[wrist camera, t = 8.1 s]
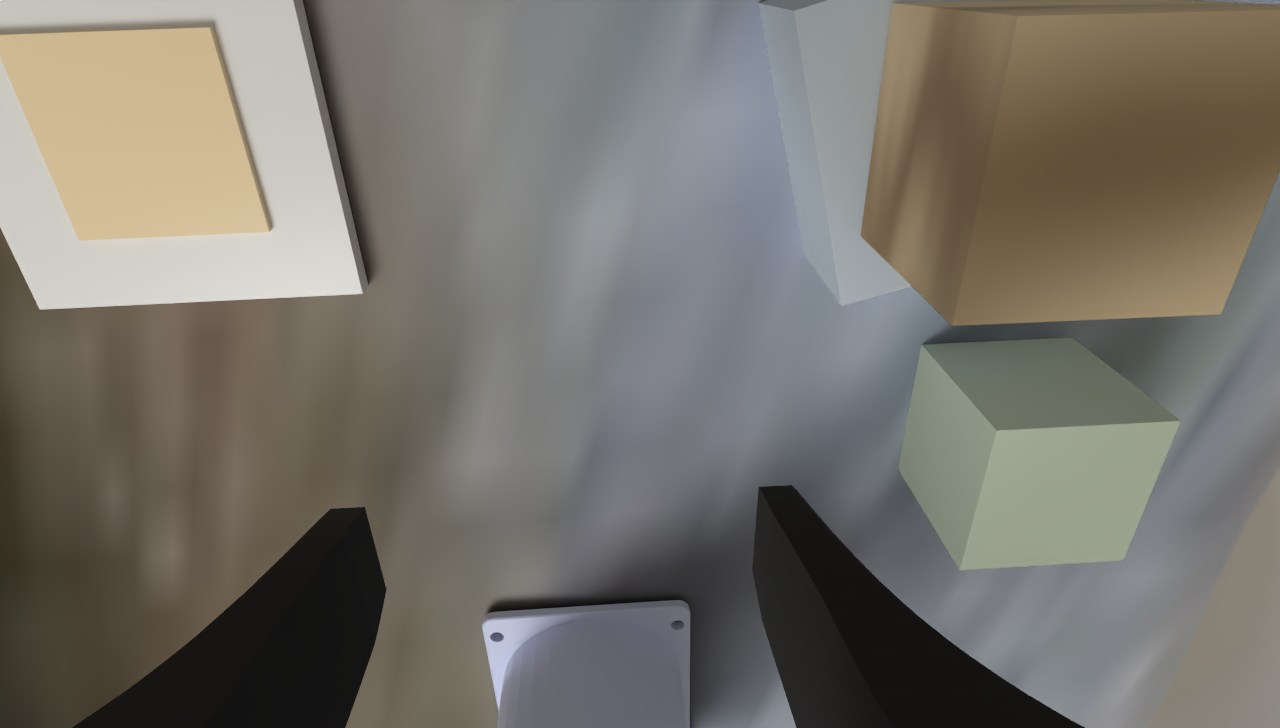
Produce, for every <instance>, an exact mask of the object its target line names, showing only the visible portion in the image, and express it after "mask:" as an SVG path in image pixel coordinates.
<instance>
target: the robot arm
mask: <svg viewBox="0 0 1280 728" xmlns="http://www.w3.org/2000/svg"><path fill="white" fill-rule="evenodd" d="M753 574H754V579H755V585H756V590H757V596H758V601H759V606H760V611H761V616H762V620H763V624H764V627H765V630H766V633H767V637H768V640H769V643H770V646H771V649H772V652H773V656H774V659H775V662H776V665H777V668H778V671H779V674H780V678H781V681H782V684H783V687H784V690H785V693H786V696H787V699H788V702H789V706H790V709H791V712H792V715H793V718H794V721H795V724H796V727H797V728H1084V727H1082V726H1081V725H1079V724H1077V723H1075V722H1073V721H1071V720H1070V719H1068V718H1066V717H1064V716H1063V715H1061V714H1059V713H1058V712H1056V711H1054V710H1053V709H1051V708H1049V707H1047V706H1046V705H1044V704H1042V703H1041V702H1039V701H1037V700H1036V699H1034V698H1032V697H1031V696H1029V695H1027V694H1026V693H1024V692H1023V691H1021V690H1020V689H1018V688H1016V687H1015V686H1013V685H1012V684H1010V683H1009V682H1007V681H1005V680H1004V679H1002V678H1001V677H999V676H998V675H997V674H995V673H994V672H992V671H991V670H989V669H988V668H986V667H985V666H983V665H982V664H981V663H979V662H978V661H976V660H975V659H973V658H972V657H970V656H969V655H968V654H966V653H965V652H963V651H962V650H961V649H959V648H958V647H957V646H955V645H954V644H953V643H951V642H950V641H949V640H947V639H946V638H945V637H943V636H942V635H941V634H940V633H938V632H937V631H936V630H935V629H933V628H932V627H931V626H930V625H929V624H927V623H926V622H925V621H924V620H922V619H921V618H920V617H919V616H917V615H916V614H915V613H914V612H913V611H912V610H911V609H909V608H908V607H907V606H906V605H905V604H904V603H903V602H902V601H900V600H899V599H898V598H897V597H896V596H895V595H894V594H893V593H892V592H891V591H890V590H889V589H888V588H886V587H885V586H884V585H883V584H882V583H881V582H880V581H879V580H878V579H877V578H876V577H875V576H874V575H873V574H872V573H871V572H870V571H869V570H868V569H867V568H866V567H865V566H864V565H863V564H862V563H861V562H860V561H859V560H858V559H857V558H856V557H855V556H854V555H853V553H852V552H851V551H850V550H849V549H848V548H847V547H846V546H845V545H844V544H843V543H842V542H841V541H840V540H839V539H838V538H837V536H836V535H835V534H834V533H833V532H832V531H831V530H830V529H829V527H828V526H827V525H826V524H825V523H824V522H823V521H822V519H821V518H820V517H819V516H818V515H817V514H816V513H815V511H814V510H813V509H812V508H811V507H810V505H809V504H808V503H807V502H806V501H805V499H804V498H803V497H802V496H801V495H800V493H799V492H798V491H797V490H796V489H795V488H794V487H793V486H792V485H788V486H768V487H759V492H758V505H757V518H756V531H755V544H754V557H753ZM385 593H386V586H385V583H384V579H383V575H382V571H381V567H380V563H379V560H378V556H377V552H376V548H375V544H374V541H373V537H372V533H371V529H370V525H369V522H368V518H367V514H366V510H365V507H358V508H339V509H330V510H329V511H328V512H327V513H326V514H325V515H324V516H323V517H322V518H321V519H320V520H319V521H318V522H317V523H316V524H315V525H314V526H313V527H312V528H311V529H310V530H309V531H308V532H307V533H306V534H305V535H304V536H303V537H302V538H301V539H300V540H299V541H298V542H297V543H296V544H295V545H294V546H293V547H292V548H291V549H290V550H289V551H288V552H287V553H286V554H285V555H284V556H283V557H282V558H280V559H279V560H278V561H277V562H276V563H275V564H274V565H273V566H272V567H271V568H270V569H269V570H268V571H267V572H266V573H265V574H264V575H263V576H262V577H261V578H260V579H259V580H258V581H257V582H256V583H255V584H254V585H253V586H252V587H251V588H250V589H248V590H247V591H246V592H245V593H244V594H243V595H242V596H241V597H240V598H239V599H237V600H236V601H235V602H234V603H233V604H232V605H231V606H230V607H228V608H227V609H226V610H225V611H224V612H223V613H222V614H221V615H219V616H218V617H217V618H216V619H215V620H214V621H213V622H212V623H210V624H209V625H208V626H207V627H206V628H205V629H204V630H203V631H201V632H200V633H199V634H198V635H197V636H196V637H195V638H193V639H192V640H191V641H190V642H189V643H187V644H186V645H185V646H184V647H182V648H181V649H180V650H179V651H177V652H176V653H175V654H174V655H173V656H171V657H170V658H169V659H167V660H166V661H165V662H164V663H162V664H161V665H160V666H158V667H157V668H156V669H154V670H153V671H152V672H151V673H149V674H148V675H147V676H145V677H144V678H143V679H141V680H140V681H139V682H137V683H136V684H135V685H133V686H132V687H131V688H129V689H128V690H126V691H125V692H124V693H122V694H121V695H119V696H118V697H116V698H115V699H113V700H112V701H110V702H109V703H108V704H106V705H105V706H103V707H102V708H100V709H99V710H97V711H96V712H94V713H93V714H92V715H90V716H89V717H87V718H86V719H84V720H83V721H81V722H80V723H78V724H77V725H75V726H74V727H73V728H345V727H346V724H347V721H348V718H349V716H350V713H351V710H352V707H353V704H354V702H355V699H356V696H357V693H358V690H359V688H360V685H361V682H362V679H363V676H364V673H365V670H366V668H367V665H368V662H369V659H370V656H371V653H372V650H373V647H374V644H375V640H376V636H377V632H378V627H379V623H380V618H381V613H382V608H383V603H384V598H385ZM677 620H678V622H674V621H677ZM482 629H483V634H484V639H485V644H486V649H487V654H488V660H489V665H490V670H491V675H492V680H493V685H494V690H495V695H496V700H497V705H498V710H499V715H498V723H497V728H689V727H690V609H689V605H688V604H687V603H686V602H684V601H682V600H668V601H653V602H637V603H622V604H607V605H591V606H576V607H560V608H545V609H530V610H514V611H499V612H491V613H489V614H487V615H486V616H485V617H484V619H483V626H482ZM496 632H497V633H496ZM498 633H500V634H498Z"/></svg>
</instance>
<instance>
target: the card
mask: <svg viewBox="0 0 1280 728" xmlns="http://www.w3.org/2000/svg"><path fill="white" fill-rule="evenodd" d="M0 228H1V230H2V232H3V234H4V236H5V238H6V240H7V242H8V244H9V246H10V249H11V251H12V253H13V255H14V257H15V259H16V261H17V263H18V265H19V267H20V269H21V271H22V274H23V276H24V278H25V280H26V282H27V284H28V286H29V288H30V290H31V292H32V294H33V296H34V298H35V301H36V303H37V305H38V307H39V309H40V310H41V309H61V308H82V307H102V306H122V305H143V304H163V303H184V302H204V301H224V300H245V299H265V298H285V297H306V296H326V295H347V294H363V292H364V291H365V290H366V288H367V287H368V282H367V277H366V273H365V269H364V264H363V260H362V256H361V251H360V247H359V243H358V238H357V234H356V230H355V225H354V221H353V217H352V212H351V208H350V204H349V199H348V195H347V191H346V186H345V182H344V178H343V174H342V169H341V165H340V161H339V156H338V152H337V148H336V143H335V139H334V135H333V130H332V126H331V122H330V117H329V113H328V109H327V104H326V100H325V96H324V91H323V87H322V83H321V78H320V74H319V70H318V65H317V61H316V57H315V52H314V48H313V44H312V39H311V35H310V31H309V26H308V22H307V18H306V13H305V9H304V5H303V0H0Z"/></svg>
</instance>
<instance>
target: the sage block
mask: <svg viewBox="0 0 1280 728" xmlns="http://www.w3.org/2000/svg"><path fill="white" fill-rule="evenodd" d="M1180 422H1181V421H1180V420H1179V419H1178V418H1176V417H1175V416H1174V415H1173V414H1171V413H1170V412H1169V411H1167V410H1166V409H1165V408H1163V407H1162V406H1161V405H1160V404H1158V403H1157V402H1156V401H1154V400H1153V399H1152V398H1150V397H1149V396H1148V395H1146V394H1145V393H1144V392H1143V391H1141V390H1140V389H1139V388H1137V387H1136V386H1135V385H1133V384H1132V383H1131V382H1130V381H1128V380H1127V379H1126V378H1124V377H1123V376H1122V375H1120V374H1119V373H1118V372H1117V371H1115V370H1114V369H1113V368H1111V367H1110V366H1109V365H1107V364H1106V363H1105V362H1103V361H1102V360H1101V359H1100V358H1098V357H1097V356H1096V355H1094V354H1093V353H1092V352H1090V351H1089V350H1088V349H1087V348H1085V347H1084V346H1083V345H1081V344H1080V343H1079V342H1077V341H1076V340H1075V339H1074V338H1052V339H1031V340H1010V341H988V342H967V343H946V344H924V345H921V349H920V354H919V360H918V365H917V370H916V376H915V381H914V386H913V391H912V397H911V402H910V407H909V412H908V418H907V423H906V428H905V433H904V439H903V444H902V449H901V455H900V460H899V465H898V470H899V472H900V473H901V475H902V477H903V478H904V480H905V482H906V483H907V485H908V486H909V488H910V490H911V491H912V493H913V495H914V496H915V498H916V500H917V501H918V503H919V504H920V506H921V508H922V509H923V511H924V513H925V514H926V516H927V518H928V519H929V521H930V522H931V524H932V526H933V527H934V529H935V531H936V532H937V534H938V536H939V537H940V539H941V540H942V542H943V544H944V545H945V547H946V549H947V550H948V552H949V554H950V555H951V557H952V558H953V560H954V562H955V563H956V565H957V567H958V568H959V570H975V569H991V568H1008V567H1024V566H1040V565H1057V564H1073V563H1090V562H1106V561H1123V560H1124V558H1125V555H1126V553H1127V551H1128V548H1129V546H1130V543H1131V541H1132V538H1133V536H1134V534H1135V531H1136V529H1137V526H1138V524H1139V521H1140V519H1141V517H1142V514H1143V512H1144V509H1145V507H1146V504H1147V502H1148V500H1149V497H1150V495H1151V492H1152V490H1153V487H1154V485H1155V483H1156V480H1157V478H1158V475H1159V473H1160V470H1161V468H1162V466H1163V463H1164V461H1165V458H1166V456H1167V453H1168V451H1169V449H1170V446H1171V444H1172V441H1173V439H1174V436H1175V434H1176V432H1177V429H1178V427H1179V424H1180Z"/></svg>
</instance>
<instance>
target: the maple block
mask: <svg viewBox="0 0 1280 728" xmlns="http://www.w3.org/2000/svg"><path fill="white" fill-rule="evenodd" d="M1279 171H1280V5H1269V4H1248V3H1227V2H1206V1H1185V0H1008V1H965V2H922V3H892V6H891V13H890V21H889V28H888V36H887V43H886V50H885V58H884V65H883V73H882V80H881V87H880V95H879V102H878V110H877V117H876V124H875V132H874V139H873V147H872V154H871V161H870V169H869V176H868V184H867V191H866V198H865V206H864V213H863V221H862V228H861V237H862V238H863V239H864V240H865V241H866V242H867V243H868V244H869V245H870V246H871V247H872V248H873V249H874V250H875V251H876V252H877V253H878V254H879V255H880V256H881V257H882V258H883V259H884V260H885V261H886V262H888V263H889V264H890V265H891V266H892V267H893V268H894V269H895V270H896V271H897V272H898V273H899V274H900V275H901V276H902V277H903V278H904V279H905V280H906V281H907V282H908V283H909V284H910V285H911V286H912V287H913V288H914V289H915V290H916V291H917V292H918V293H919V294H920V295H921V296H922V297H923V298H924V299H925V300H926V301H927V302H928V303H929V304H930V305H931V306H932V307H933V308H934V309H935V310H936V311H937V312H938V313H939V314H940V315H941V316H942V317H944V318H945V319H946V320H947V321H948V322H949V323H950V324H951V325H952V326H964V325H987V324H1010V323H1033V322H1056V321H1080V320H1103V319H1126V318H1149V317H1172V316H1195V315H1219V314H1221V313H1222V311H1223V308H1224V306H1225V303H1226V301H1227V298H1228V296H1229V293H1230V291H1231V289H1232V286H1233V284H1234V281H1235V279H1236V276H1237V274H1238V272H1239V269H1240V267H1241V264H1242V262H1243V259H1244V257H1245V254H1246V252H1247V250H1248V247H1249V245H1250V242H1251V240H1252V237H1253V235H1254V232H1255V230H1256V228H1257V225H1258V223H1259V220H1260V218H1261V215H1262V213H1263V211H1264V208H1265V206H1266V203H1267V201H1268V198H1269V196H1270V193H1271V191H1272V189H1273V186H1274V184H1275V181H1276V179H1277V176H1278V174H1279Z"/></svg>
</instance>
